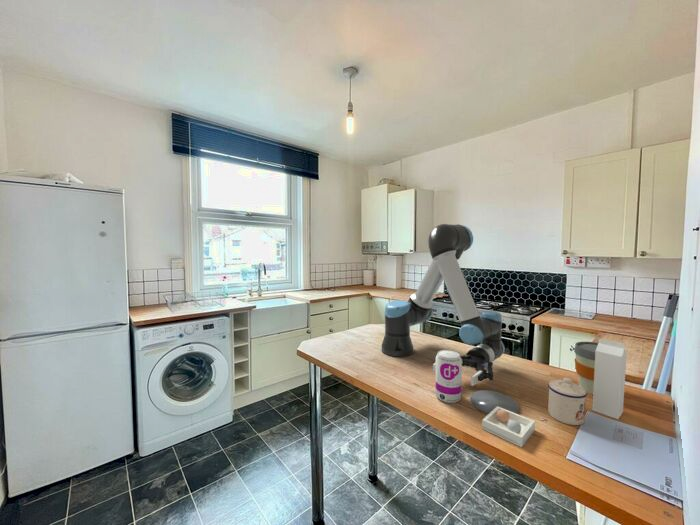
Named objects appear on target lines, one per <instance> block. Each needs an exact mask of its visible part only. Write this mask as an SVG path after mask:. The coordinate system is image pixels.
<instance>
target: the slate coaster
mask: <svg viewBox="0 0 700 525" xmlns="http://www.w3.org/2000/svg"><path fill="white" fill-rule="evenodd" d="M469 401H470V404H471V405H472V406H473V407H474V408H475V409H477V410H478V411H479V412H481V413H484V414H486V415H488V414H489V413H490V412H491V411H492V410H494V409H495V408H496V407H497V406H498V407H501V408H503V409H506V410H508V411H511V412H513V413H516V414H518V415H519V413H520V412H519V411H520V405H519V403H518V402H517V401H516V400H515V399H514V398H512V396H511V397H510V396H509V395H506V394H505V393H502V392H497V391H495V390H486V389H485V390H483V389H482V390H477V391H473V392H472V393H471V394H470V396H469Z"/></svg>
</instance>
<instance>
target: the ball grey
mask: <svg viewBox="0 0 700 525" xmlns="http://www.w3.org/2000/svg"><path fill="white" fill-rule="evenodd" d="M508 429H509V430H510V431H512V432H515V433H517V434H518V433H520V431H521V426H520V424H519V423H518V422H517V421H515V420H511V421H509V422H508Z"/></svg>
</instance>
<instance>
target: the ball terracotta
mask: <svg viewBox="0 0 700 525" xmlns="http://www.w3.org/2000/svg"><path fill="white" fill-rule="evenodd" d="M497 417H498V419H499V420H500V421H502V422H507V421H508V420H509V414H508V412H507V411H505V410H499V411H498V412H497Z"/></svg>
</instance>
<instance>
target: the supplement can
mask: <svg viewBox="0 0 700 525" xmlns="http://www.w3.org/2000/svg"><path fill="white" fill-rule="evenodd" d="M460 355H461V354H460V352H459V353H458V351H454V350H450V349H441V350H439V351H437V354H436V356H435V362H436V372H435V379H434V381H435V384H434V385H435V387H434V388H435V391H434V392H435V397H437V398H438V400H439V401H441V402H444V403H449V404H454V403H458V402H459V401H460V400H461V399H462V380H463V379H462V378H463V376H462V374H463V373H462V372H463V369H462V368H463V366H462V363H463V362H462V359H461V357H460Z"/></svg>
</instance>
